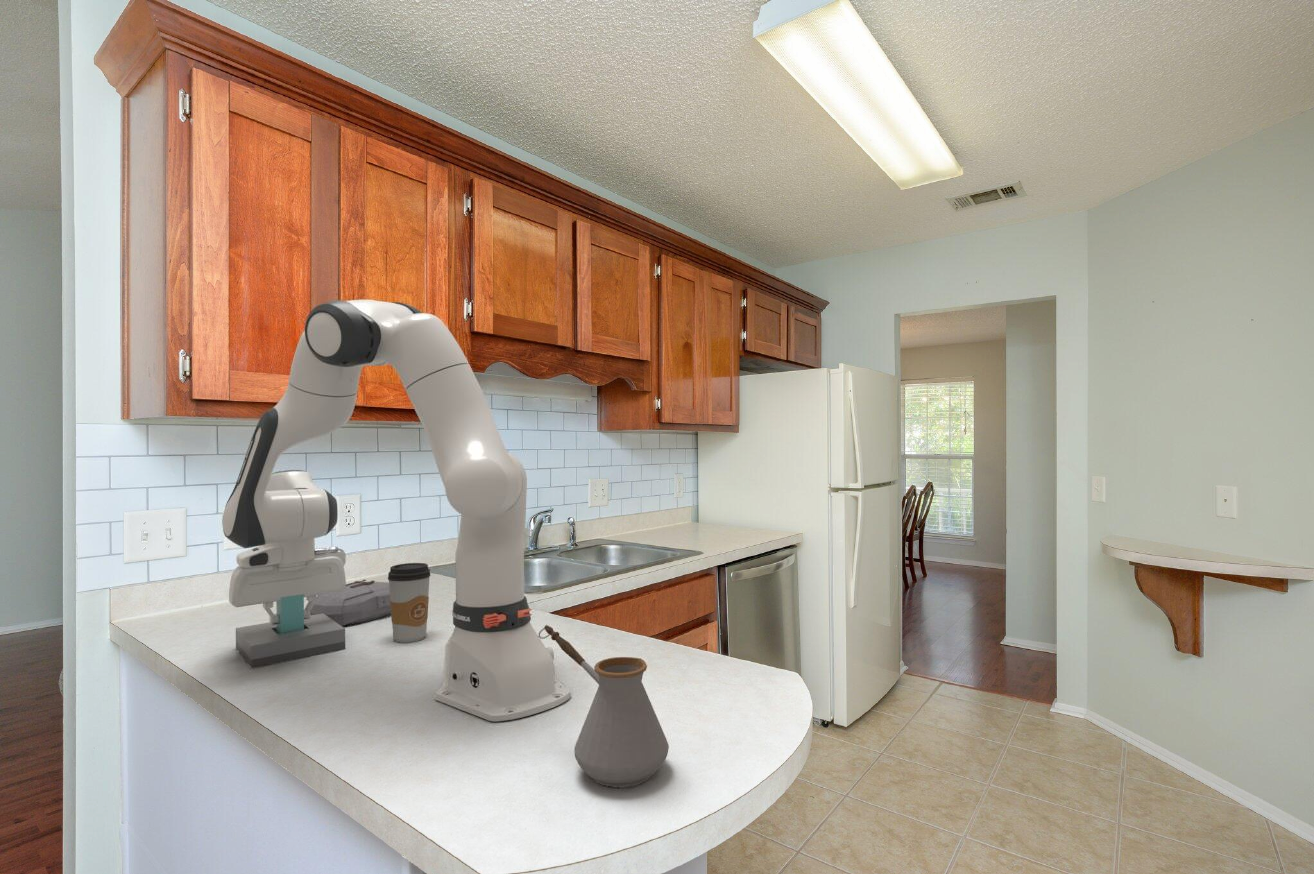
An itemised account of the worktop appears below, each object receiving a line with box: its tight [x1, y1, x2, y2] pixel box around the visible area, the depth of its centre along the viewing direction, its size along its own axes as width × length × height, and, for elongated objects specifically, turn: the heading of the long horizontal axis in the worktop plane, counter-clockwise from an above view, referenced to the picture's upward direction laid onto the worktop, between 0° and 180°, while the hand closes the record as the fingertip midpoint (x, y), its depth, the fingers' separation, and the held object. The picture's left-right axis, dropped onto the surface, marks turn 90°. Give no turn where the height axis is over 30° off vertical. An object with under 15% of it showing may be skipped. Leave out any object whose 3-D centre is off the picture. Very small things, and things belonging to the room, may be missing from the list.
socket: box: [235, 613, 346, 669], centre depth 128 cm, size 16×16×4 cm
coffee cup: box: [387, 562, 431, 644], centre depth 134 cm, size 8×8×15 cm
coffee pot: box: [538, 624, 670, 789], centre depth 82 cm, size 21×12×15 cm, turn 46°
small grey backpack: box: [310, 579, 391, 627], centre depth 151 cm, size 15×8×20 cm
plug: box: [275, 594, 305, 634], centre depth 128 cm, size 4×4×9 cm
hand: (290, 621), depth 128 cm, fingers closed on plug, 4 cm apart
